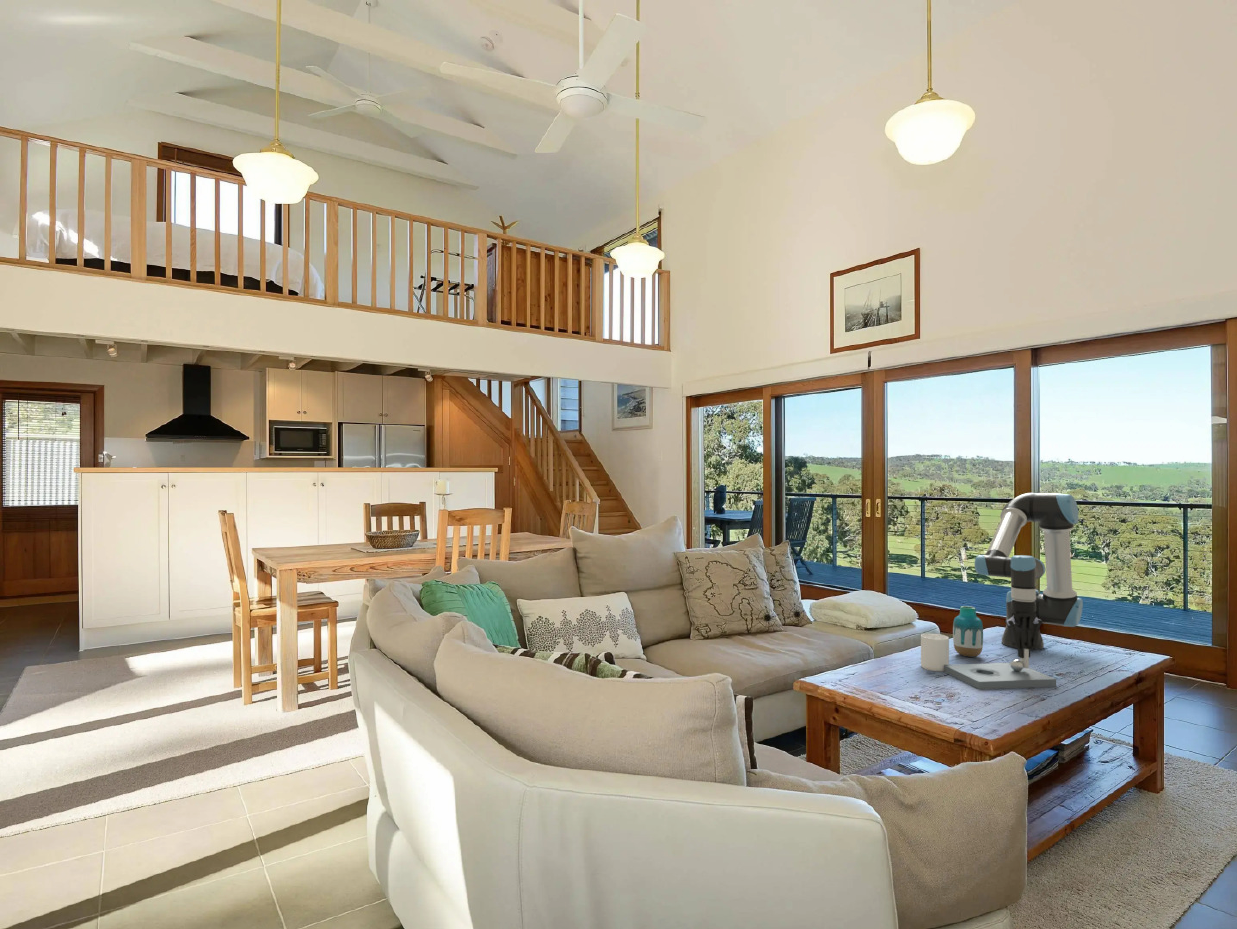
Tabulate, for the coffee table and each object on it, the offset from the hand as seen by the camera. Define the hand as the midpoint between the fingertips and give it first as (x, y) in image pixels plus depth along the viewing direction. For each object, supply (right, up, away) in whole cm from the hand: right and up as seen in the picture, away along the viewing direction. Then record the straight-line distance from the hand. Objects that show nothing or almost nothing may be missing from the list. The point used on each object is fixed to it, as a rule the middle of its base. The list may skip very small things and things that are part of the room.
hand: (1024, 667), depth 240 cm
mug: (-26, -4, +13) cm, 30 cm away
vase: (-5, -4, +29) cm, 30 cm away
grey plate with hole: (-10, -4, -1) cm, 10 cm away
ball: (-3, +1, 0) cm, 3 cm away
